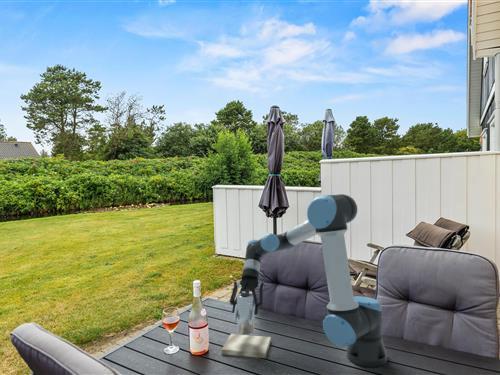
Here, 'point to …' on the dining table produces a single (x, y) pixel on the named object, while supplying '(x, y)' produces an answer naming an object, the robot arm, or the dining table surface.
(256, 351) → the birch board
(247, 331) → the steel bottle
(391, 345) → the dining table surface
